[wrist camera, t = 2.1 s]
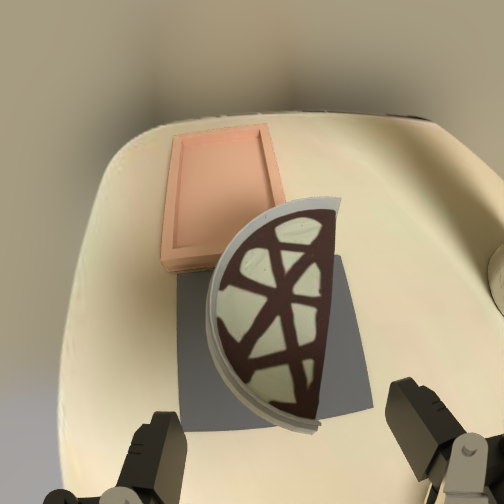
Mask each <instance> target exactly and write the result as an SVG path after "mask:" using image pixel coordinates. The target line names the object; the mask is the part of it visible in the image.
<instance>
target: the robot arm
mask: <svg viewBox="0 0 504 504" xmlns="http://www.w3.org/2000/svg"><path fill="white" fill-rule="evenodd" d="M488 281H489V286H490V290H491V293H492V296H493V298H494V301H495V303H496V305H497V306H498V308H499V310H500V311H501V313H502V314H503V315H504V243H503V244H502V245H501V246H500V247H499V248H498V249H497V250H496V251H495V252H494V254H493V255H492V256H491V258H490V261H489V265H488ZM385 417H386V421H387V424H388V425H389V427H390V429H391V431H392V433H393V435H394V436H395V438H396V440H397V442H398V444H399V446H400V448H401V449H402V451H403V453H404V455H405V457H406V459H407V461H408V463H409V464H410V466H411V468H412V470H413V472H414V474H415V476H416V478H417V480H418V482H420V481H422V480H425V479H427V478H429V480H430V481H431V483H430V485H429V488H428V491H427V495H426V498H425V501H424V504H504V434H501V435H498V436H494V437H490V438H484V437H482V436H481V435H479V434H476V433H467V432H466V431H465V430H464V429H463V427H462V426H461V425H460V424H459V422H458V421H457V420H456V418H455V417H454V416H453V415H452V413H451V412H450V411H449V410H448V408H446V406H445V405H444V403H443V402H442V401H440V398H439V397H438V396H437V395H436V393H435V392H434V391H432V390H431V389H429V388H427V387H425V386H424V385H423V386H420V387H419V386H418V385H417V384H416V382H415V381H414V380H413V379H412V378H411V377H407V378H404V379H401V380H397V381H394V382H392V383H391V384H390V389H389V394H388V399H387V404H386V408H385ZM186 455H187V440H186V437H185V434H184V431H183V429H182V426H181V424H180V421H179V419H178V416H177V414H176V412H161V411H156V412H154V414H153V417H152V420H151V423H150V424H142V426H141V427H140V428H139V429H138V430H137V431H136V432H135V433H134V436H133V439H132V442H131V445H130V447H129V450H128V454H127V456H126V459H125V461H124V464H123V467H122V470H121V473H120V476H119V479H118V482H117V484H116V486H115V487H113V488H110V489H108V490H107V491H105V492H104V493H103V494H102V496H100V497H89V498H76V497H75V496H74V494H73V493H71V492H70V491H68V490H64V489H57V490H54V491H52V492H50V493H49V494H48V495H47V496H46V498H45V499H44V502H43V504H179V500H180V493H181V487H182V480H183V474H184V468H185V461H186Z"/></svg>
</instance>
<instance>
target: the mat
mask: <svg viewBox="0 0 504 504" xmlns="http://www.w3.org/2000/svg"><path fill="white" fill-rule="evenodd" d="M213 271H214V270H212V271H203V272H193V273H184V274H177V352H178V380H179V399H180V415H181V426H182V429H183V431H184V432H203V431H229V430H244V429H256V428H266V427H274V426H277V425H274V424H272V423H270V422H268V421H267V420H265V419H263V418H262V417H260V416H258V415H257V414H255V413H254V412H252V411H251V410H250V409H249V408H248V407H246V406H245V405H244V404H243V403H242V402H241V401H239V400H238V399H237V397H236V396H235V395H234V394H233V393H232V391H231V390H230V389H229V388H228V386H227V385H226V384H225V383H224V381H223V379H222V377H221V375H220V374H219V372H218V370H217V368H216V367H215V364H214V361H213V358H212V356H211V353H210V350H209V346H208V341H207V335H206V298H207V293H208V288H209V283H210V279H211V277H212V274H213ZM370 408H374V407H373V401H372V395H371V389H370V383H369V378H368V372H367V367H366V362H365V357H364V352H363V347H362V342H361V337H360V333H359V328H358V324H357V319H356V315H355V311H354V307H353V302H352V298H351V294H350V290H349V286H348V282H347V279H346V275H345V271H344V267H343V264H342V260H341V256H334V269H333V287H332V302H331V311H330V319H329V327H328V335H327V343H326V351H325V359H324V366H323V373H322V379H321V386H320V394H319V405H318V409H317V415H316V419H317V420H320V419H326V418H331V417H336V416H340V415H345V414H349V413H354V412H358V411H362V410H366V409H370Z"/></svg>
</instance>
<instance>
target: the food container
mask: <svg viewBox="0 0 504 504" xmlns="http://www.w3.org/2000/svg"><path fill="white" fill-rule="evenodd" d="M340 202H341V198H337V197H309V198H303V199H298V200H293V201H290V202H287V203H284V204H280V205H278V206H276V207H274V208H272V209H269V210H267V211H265V212H263V213H262V214H260V215H259V216H257V217H256V218H254V219H253V220H251V221H250V222H249V223H248V224H247V225H246V226H245V227H244V228H242V229H241V230H240V231H239V232H238V233H237V235H236V236H235V237H234V238H233V239H232V241H231V242H230V243H229V244H228V246H227V248H226V249H225V250H224V252H223V254H222V255H221V257H220V259H219V261H218V262H217V264H216V266H215V269H214V271H213V274H212V277H211V279H210V283H209V288H208V293H207V298H206V335H207V341H208V346H209V350H210V353H211V356H212V358H213V361H214V364H215V367H216V368H217V370H218V372H219V374H220V375H221V377H222V379H223V381H224V383H225V384H226V385H227V386H228V388H229V389H230V390H231V391H232V393H233V394H234V395H235V396H236V397H237V399H238V400H239V401H241V402H242V403H243V404H244V405H245V406H246V407H248V408H249V409H250V410H251V411H252V412H254V413H255V414H257V415H258V416H260V417H262V418H263V419H265V420H267V421H268V422H270V423H272V424H274V425H277V426H280V427H282V428H285V429H288V430H291V431H294V432H299V433H304V434H310V435H312V434H314V433H315V432H316V431H317V430H318V426H321V423H320V422H319V421H318V420H317V419H316V415H317V409H318V405H319V394H320V386H321V379H322V373H323V366H324V359H325V351H326V343H327V335H328V327H329V319H330V311H331V302H332V287H333V269H334V252H335V230H336V219H337V214H338V210H339V206H340Z"/></svg>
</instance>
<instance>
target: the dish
mask: <svg viewBox="0 0 504 504" xmlns="http://www.w3.org/2000/svg"><path fill="white" fill-rule="evenodd" d="M284 203H286V200H285V195H284V191H283V186H282V182H281V178H280V174H279V169H278V165H277V161H276V157H275V153H274V149H273V145H272V141H271V137H270V133H269V129H268V125H267V123H266V124H255V125H245V126H236V127H228V128H220V129H212V130H205V131H199V132H192V133H186V134H180V135H175V136H174V141H173V147H172V154H171V161H170V168H169V176H168V184H167V193H166V202H165V211H164V222H163V233H162V246H161V260H160V261H161V262H162V264H163V265H164V267H165V269H166V270H167V272H171V271H180V270H189V269H198V268H207V267H215V266H216V264H217V262H218V261H219V259H220V257H221V255H222V254H223V252H224V250H225V249H226V248H227V246H228V244H229V243H230V242H231V241H232V239H233V238H234V237H235V236H236V235H237V233H238V232H239V231H240V230H241V229H242V228H244V227H245V226H246V225H247V224H248V223H249V222H250V221H251V220H253V219H254V218H256V217H257V216H259V215H260V214H262V213H263V212H265V211H267V210H269V209H272V208H274V207H276V206H278V205H280V204H284Z"/></svg>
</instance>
